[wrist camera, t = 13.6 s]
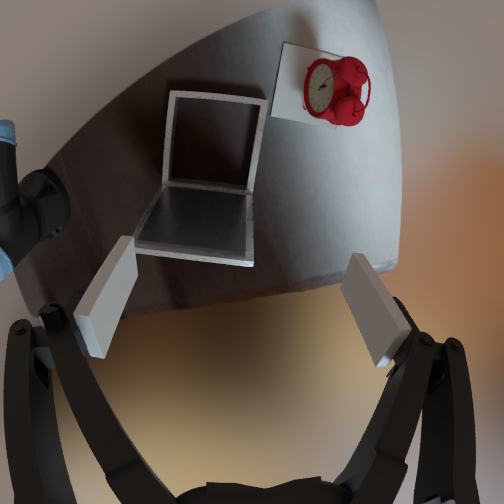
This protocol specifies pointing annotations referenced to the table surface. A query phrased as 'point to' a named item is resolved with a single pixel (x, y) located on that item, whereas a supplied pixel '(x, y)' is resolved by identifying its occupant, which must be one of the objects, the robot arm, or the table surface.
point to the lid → (198, 226)
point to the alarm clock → (336, 90)
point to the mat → (296, 85)
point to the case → (170, 136)
